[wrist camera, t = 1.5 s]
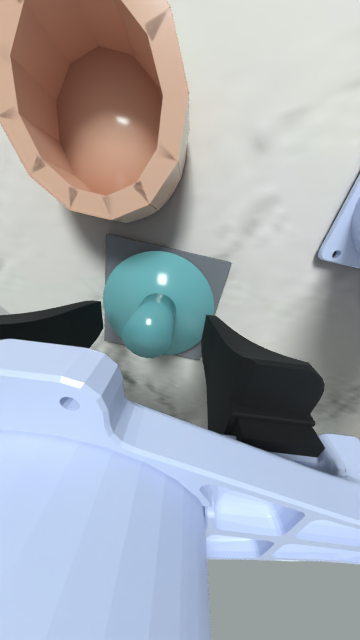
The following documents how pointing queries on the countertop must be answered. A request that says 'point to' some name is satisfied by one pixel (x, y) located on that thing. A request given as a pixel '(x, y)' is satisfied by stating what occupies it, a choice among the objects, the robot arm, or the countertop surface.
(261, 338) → the countertop surface
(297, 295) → the countertop surface
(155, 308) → the lid
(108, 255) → the mat
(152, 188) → the bowl
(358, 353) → the countertop surface
